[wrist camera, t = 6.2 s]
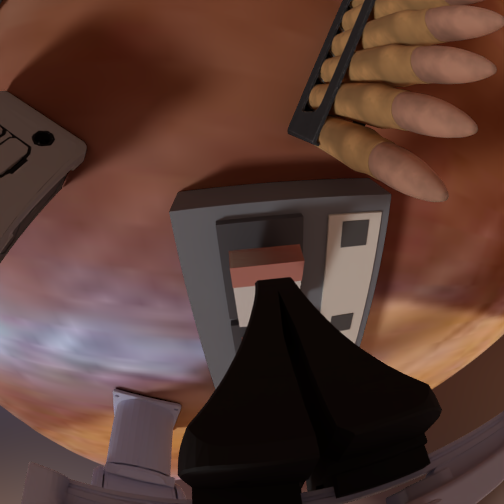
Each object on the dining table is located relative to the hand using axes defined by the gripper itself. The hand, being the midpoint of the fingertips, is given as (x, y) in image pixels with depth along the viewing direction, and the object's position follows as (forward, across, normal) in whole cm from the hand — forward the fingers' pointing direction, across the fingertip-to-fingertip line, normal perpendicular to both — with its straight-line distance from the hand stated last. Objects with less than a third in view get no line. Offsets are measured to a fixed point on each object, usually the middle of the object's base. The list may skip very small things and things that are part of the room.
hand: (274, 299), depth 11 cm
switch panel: (+8, -2, +9) cm, 12 cm away
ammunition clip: (+8, -5, -9) cm, 14 cm away
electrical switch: (+8, +14, -7) cm, 18 cm away
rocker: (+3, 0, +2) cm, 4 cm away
